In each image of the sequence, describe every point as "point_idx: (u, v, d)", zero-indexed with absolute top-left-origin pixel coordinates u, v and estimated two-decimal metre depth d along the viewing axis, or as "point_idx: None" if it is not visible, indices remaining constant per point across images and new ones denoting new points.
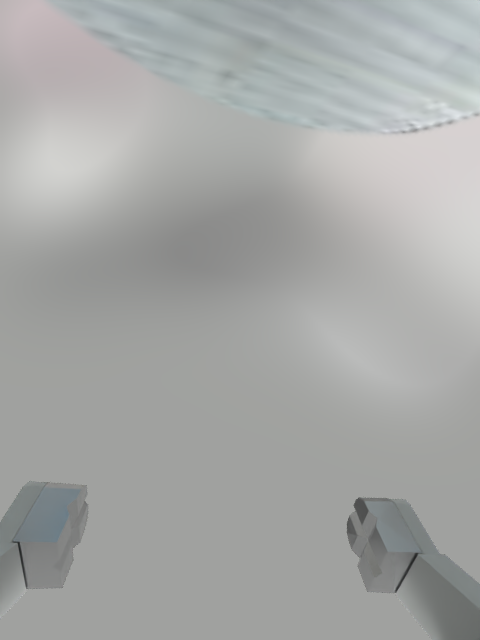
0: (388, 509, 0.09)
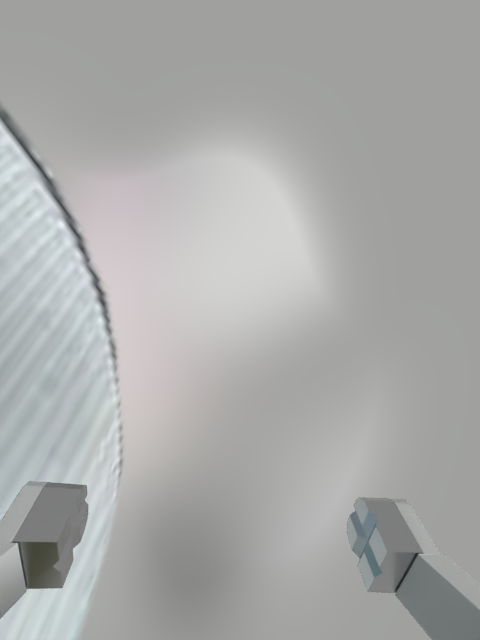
0: (388, 509, 0.09)
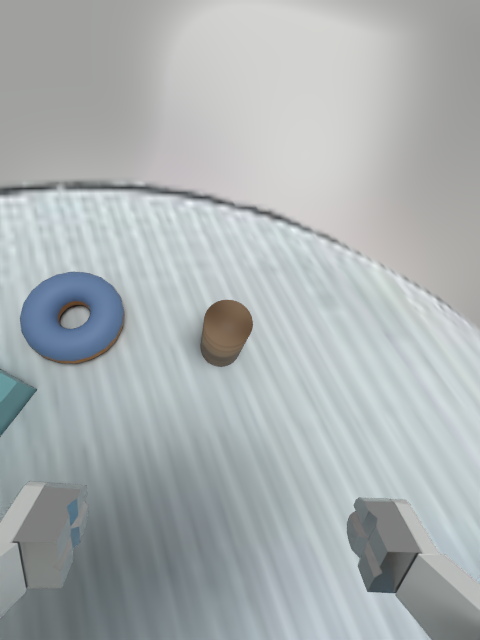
0: (388, 509, 0.09)
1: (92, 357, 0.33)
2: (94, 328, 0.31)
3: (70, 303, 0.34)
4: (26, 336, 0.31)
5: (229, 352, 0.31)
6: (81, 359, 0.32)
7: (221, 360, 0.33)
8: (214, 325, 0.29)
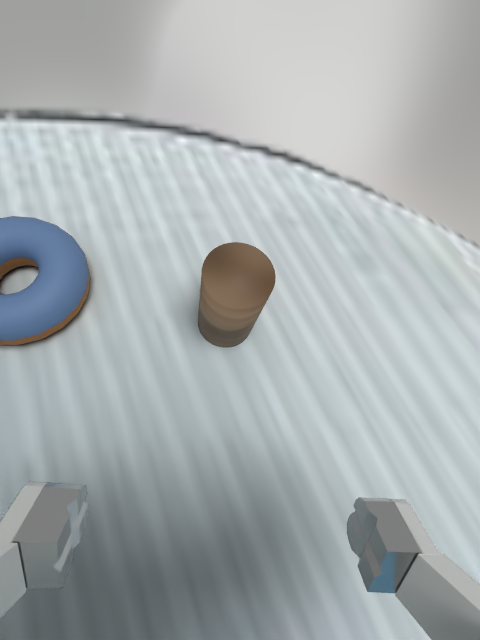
0: (388, 509, 0.09)
1: (41, 336, 0.23)
2: (41, 292, 0.21)
3: (12, 261, 0.24)
4: None
5: (240, 321, 0.21)
6: (24, 338, 0.22)
7: (227, 336, 0.23)
8: (218, 278, 0.19)
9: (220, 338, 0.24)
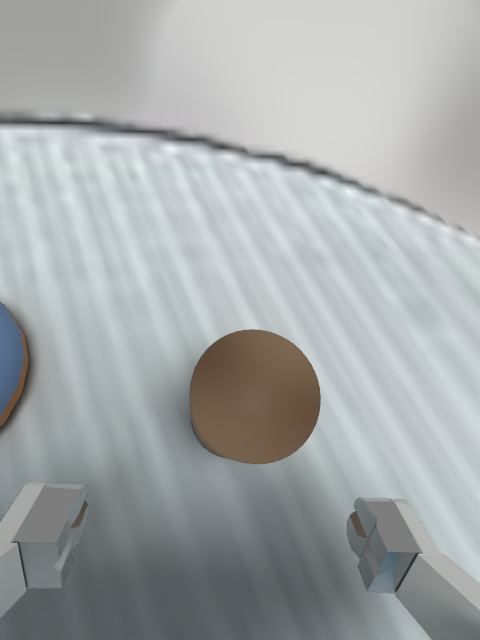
0: (388, 509, 0.09)
1: None
2: None
3: None
4: None
5: None
6: None
7: None
8: (219, 403, 0.10)
9: None
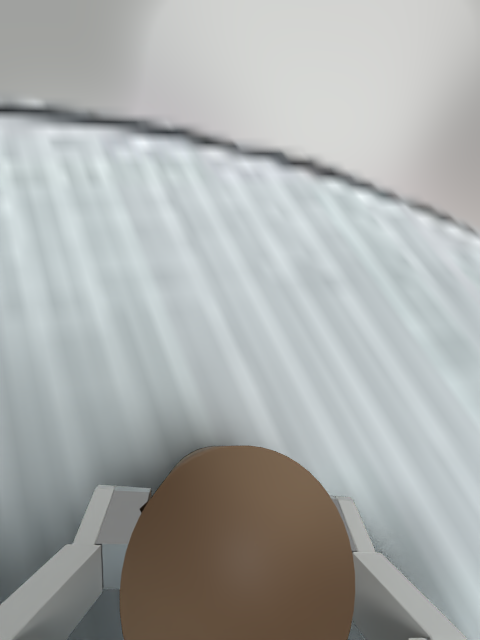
0: None
1: None
2: None
3: None
4: None
5: None
6: None
7: None
8: (174, 605, 0.06)
9: None
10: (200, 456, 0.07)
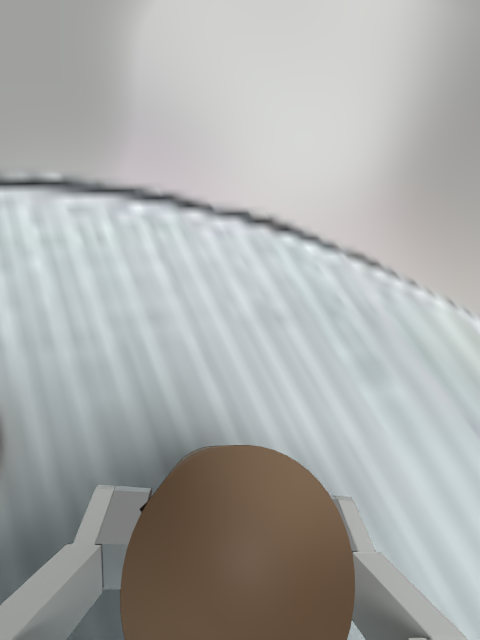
0: None
1: None
2: None
3: None
4: None
5: None
6: None
7: None
8: (174, 604, 0.06)
9: None
10: (200, 455, 0.07)
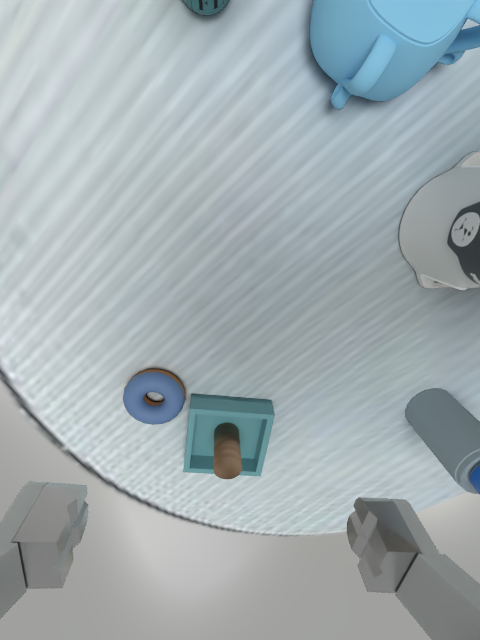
0: (388, 509, 0.09)
1: (173, 376, 0.52)
2: (156, 387, 0.50)
3: (148, 402, 0.53)
4: (178, 413, 0.53)
5: (233, 447, 0.51)
6: (177, 381, 0.52)
7: (235, 435, 0.54)
8: (235, 470, 0.50)
9: (236, 433, 0.55)
10: (224, 478, 0.51)
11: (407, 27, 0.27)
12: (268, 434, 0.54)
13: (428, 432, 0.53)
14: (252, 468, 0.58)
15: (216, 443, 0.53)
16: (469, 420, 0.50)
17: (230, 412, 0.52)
